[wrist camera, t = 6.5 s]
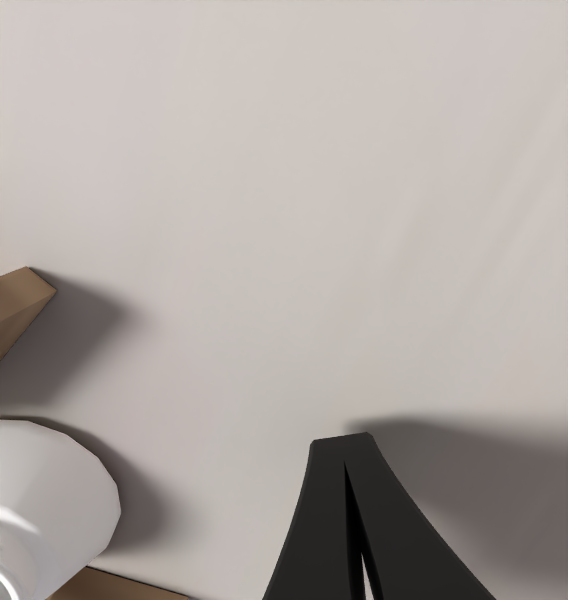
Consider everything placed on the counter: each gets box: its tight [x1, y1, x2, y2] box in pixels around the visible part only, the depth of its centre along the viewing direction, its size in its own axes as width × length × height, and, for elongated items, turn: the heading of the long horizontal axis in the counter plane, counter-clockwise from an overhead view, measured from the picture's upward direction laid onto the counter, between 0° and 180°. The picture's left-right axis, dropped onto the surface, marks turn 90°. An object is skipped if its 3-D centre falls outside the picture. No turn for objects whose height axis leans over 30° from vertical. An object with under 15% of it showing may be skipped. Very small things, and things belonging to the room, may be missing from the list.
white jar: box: [0, 420, 121, 600], centre depth 9 cm, size 5×3×5 cm
